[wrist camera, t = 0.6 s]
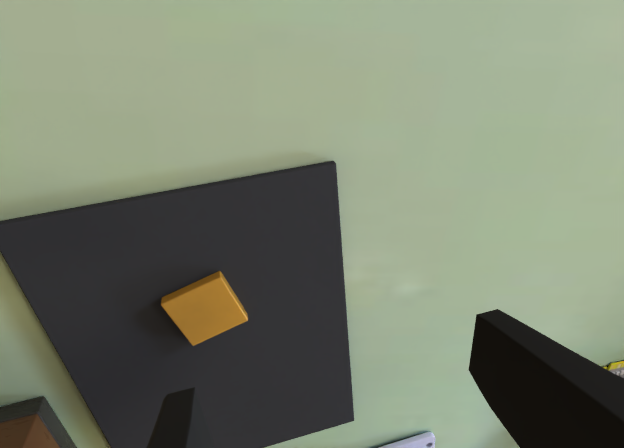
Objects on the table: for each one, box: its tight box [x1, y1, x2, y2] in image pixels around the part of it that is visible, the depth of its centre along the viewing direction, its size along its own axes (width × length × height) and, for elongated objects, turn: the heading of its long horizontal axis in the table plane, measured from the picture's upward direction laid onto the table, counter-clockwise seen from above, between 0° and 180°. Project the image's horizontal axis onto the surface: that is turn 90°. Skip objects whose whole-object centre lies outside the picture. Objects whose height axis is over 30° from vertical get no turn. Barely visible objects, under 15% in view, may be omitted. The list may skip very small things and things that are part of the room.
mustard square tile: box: [161, 271, 248, 346], centre depth 19 cm, size 3×3×1 cm
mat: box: [0, 161, 354, 448], centre depth 21 cm, size 18×14×1 cm
